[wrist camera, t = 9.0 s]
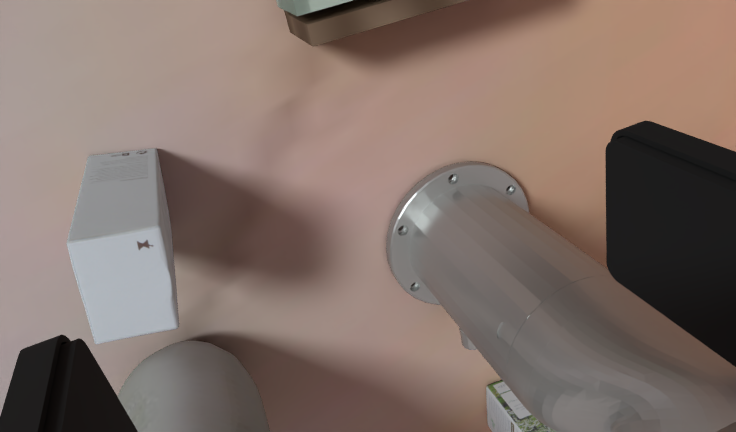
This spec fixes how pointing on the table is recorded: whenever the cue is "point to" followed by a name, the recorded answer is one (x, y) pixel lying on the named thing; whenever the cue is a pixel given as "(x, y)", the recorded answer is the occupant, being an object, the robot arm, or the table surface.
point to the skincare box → (124, 247)
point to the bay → (357, 17)
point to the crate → (307, 5)
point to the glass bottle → (193, 392)
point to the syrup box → (509, 412)
